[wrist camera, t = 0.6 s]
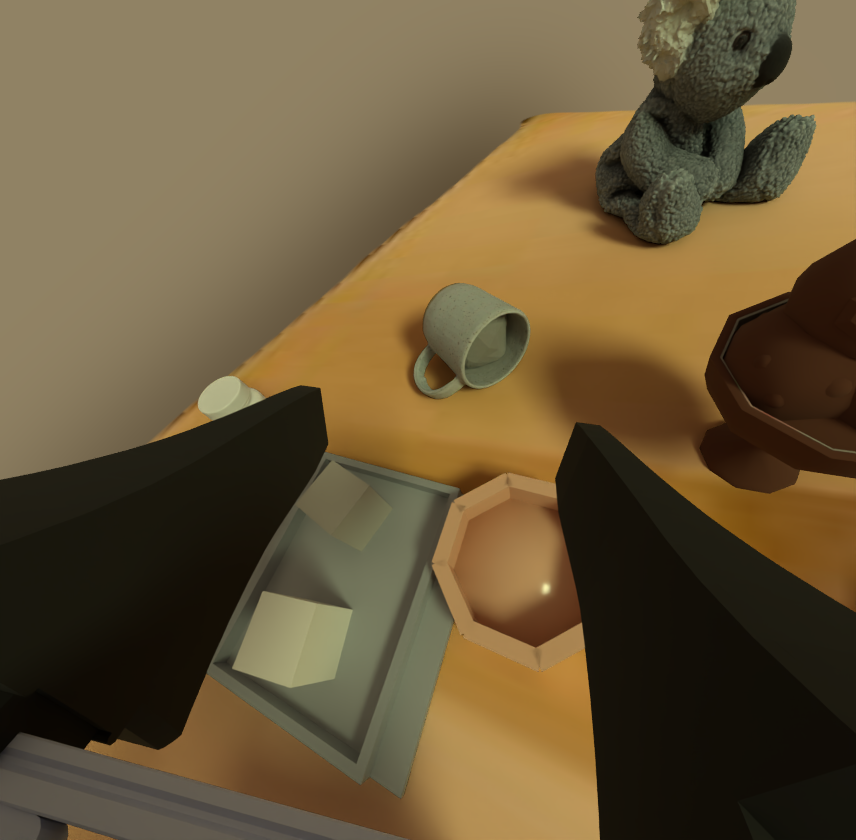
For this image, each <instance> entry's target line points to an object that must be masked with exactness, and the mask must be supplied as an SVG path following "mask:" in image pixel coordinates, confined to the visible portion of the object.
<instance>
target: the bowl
mask: <svg viewBox="0 0 856 840" xmlns="http://www.w3.org/2000/svg"><path fill="white" fill-rule="evenodd" d="M454 502H455V503H453V502H452V503H451V506H450V509H449V512H448V515H447V518H446V521H445V524H444V527H443V530H442V533H441V536H440V539H439V542H438V545H437V548H436V551H435V553H434V556H433V559H432V563H433V565H432V567H433V570H434V572H435V575H436V577H437V579H438V582H439V584H440V587H441V589H442V591H443V594H444V596H445V599H446V601H447V604H448V606H449V608H450V611H451V613H452V616H453V618H454V620H455V623H456V625H457V628H458V630H459V633H460V635H464V636H463V638H464V639H467V640H469V641H471V642H473V643H475V644H478V645H480V646H482V647H484V648H486V649H489V650H491V651H493V652H495V653H498V654H500V655H502V656H504V657H506V658H509V659H511V660H513V661H515V662H517V663H520V664H522V665H524V666H526V667H528V668H531V669H533V670H535V671H537V672H539V667H540V669H541V671H542V672H543V671H545V670H547V669H548V668H550V667H552V666H554V665H556V664H557V663H559V662H561V661H563V660H565V659H566V658H568V657H570V656H572V655H573V654H575V653H577V652H579V651H581V650H582V649H584V648H585V644H584V636H583V629H582V621H581V613H580V606H579V601H578V596H577V591H576V586H575V582H574V578H573V573H572V569H571V565H570V561H569V556H568V552H567V548H566V544H565V539H564V535H563V531H562V526H561V522H560V517H559V513H558V505H557V495H556V484H554V483H550V482H546V481H542V480H537V479H533V478H529V477H525V476H521V475H516V474H512V473H508V474H506V473H504V474H502V475H500V476H498V477H497V478H495V479H493V480H491V481H489V482H487V483H485V484H483V485H481V486H480V487H478V488H476V489H474V490H472V491H470V492H468V493H466V494H464V495H463V496H461V497H459V498H457V499H455V500H454Z"/></svg>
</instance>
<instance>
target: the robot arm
mask: <svg viewBox="0 0 856 840" xmlns="http://www.w3.org/2000/svg"><path fill="white" fill-rule="evenodd" d="M327 446H328V438H327V431H326V424H325V417H324V410H323V403H322V396H321V389H320V388H316V387H309V386H301V385H300V386H297V387H294V388H291V389H288V390H286V391H283V392H281V393H278V394H276V395H273V396H271V397H269V398H266V399H264V400H262V401H259V402H257V403H255V404H252V405H250V406H248V407H245V408H243V409H241V410H238V411H236V412H234V413H231V414H229V415H226V416H224V417H221V418H219V419H216V420H214V421H211V422H208V423H206V424H203V425H201V426H198V427H196V428H193V429H191V430H188V431H185V432H182V433H180V434H177V435H174V436H171V437H168V438H165V439H162V440H159V441H155V442H152V443H149V444H146V445H143V446H140V447H136V448H133V449H129V450H126V451H122V452H118V453H114V454H111V455H107V456H103V457H99V458H95V459H92V460H88V461H84V462H80V463H76V464H72V465H69V466H64V467H60V468H55V469H51V470H46V471H41V472H37V473H33V474H28V475H23V476H18V477H13V478H8V479H3V480H0V840H67V837H68V825H67V824H69V825H72V826H75V827H79V828H82V829H85V830H88V831H92V832H95V833H98V834H101V835H105V836H108V837H111V838H115V839H118V840H409V839H406V838H402V837H398V836H395V835H391V834H388V833H384V832H380V831H377V830H373V829H370V828H366V827H362V826H359V825H355V824H351V823H348V822H344V821H341V820H337V819H333V818H330V817H326V816H322V815H319V814H315V813H312V812H308V811H304V810H301V809H297V808H294V807H290V806H286V805H283V804H279V803H275V802H272V801H268V800H265V799H261V798H257V797H254V796H250V795H246V794H243V793H239V792H236V791H232V790H228V789H225V788H221V787H218V786H214V785H210V784H207V783H203V782H199V781H196V780H192V779H189V778H185V777H181V776H178V775H174V774H170V773H167V772H163V771H160V770H156V769H152V768H149V767H145V766H141V765H138V764H134V763H131V762H127V761H123V760H120V759H116V758H113V757H109V756H105V755H102V754H98V753H94V752H91V751H87V750H84V749H85V747H86V746H87V745H88V743H89V742H90V741H91V740H92V741H96V742H100V743H104V744H107V745H111V744H113V743H114V742H115V741H116V740H117V739H120V740H124V741H127V742H131V743H135V744H138V745H142V746H146V747H150V748H153V749H157V750H159V749H161V748H164V747H165V746H167V745H168V744H170V743H172V742H173V741H174V740H176V739H177V738H178V737H179V736H180V735H181V734H182V732H183V729H184V727H185V724H186V722H187V719H188V716H189V714H190V711H191V709H192V707H193V704H194V702H195V699H196V697H197V695H198V692H199V690H200V687H201V685H202V682H203V680H204V678H205V675H206V673H207V670H208V668H209V666H210V663H211V661H212V659H213V657H214V654H215V652H216V650H217V648H218V645H219V643H220V641H221V639H222V637H223V634H224V632H225V630H226V628H227V625H228V623H229V621H230V619H231V617H232V615H233V613H234V611H235V609H236V607H237V605H238V602H239V600H240V598H241V596H242V594H243V592H244V590H245V588H246V586H247V584H248V582H249V580H250V578H251V576H252V574H253V572H254V570H255V568H256V567H257V565H258V563H259V561H260V559H261V557H262V555H263V553H264V551H265V549H266V548H267V546H268V544H269V543H270V541H271V539H272V538H273V536H274V534H275V533H276V531H277V530H278V528H279V527H280V525H281V524H282V522H283V521H284V519H285V518H286V516H287V514H288V513H289V511H290V510H291V508H292V507H293V505H294V504H295V502H296V501H297V499H298V498H299V496H300V495H301V493H302V492H303V490H304V489H305V487H306V486H307V484H308V482H309V481H310V479H311V478H312V476H313V475H314V473H315V471H316V469H317V467H318V465H319V463H320V461H321V459H322V457H323V455H324V452H325V450H326V448H327ZM555 481H556V495H557V505H558V513H559V517H560V522H561V526H562V531H563V535H564V539H565V544H566V548H567V552H568V556H569V561H570V565H571V569H572V573H573V578H574V582H575V586H576V591H577V596H578V601H579V606H580V613H581V621H582V629H583V636H584V644H585V652H586V661H587V671H588V680H589V689H590V699H591V711H592V723H593V735H594V747H595V759H596V776H597V793H598V809H599V829H600V840H856V612H854V611H852V610H851V609H849V608H847V607H845V606H844V605H842V604H840V603H839V602H837V601H835V600H834V599H832V598H830V597H829V596H827V595H826V594H824V593H822V592H821V591H819V590H818V589H816V588H814V587H813V586H811V585H809V584H808V583H806V582H805V581H803V580H801V579H800V578H798V577H797V576H795V575H793V574H792V573H790V572H789V571H787V570H785V569H784V568H782V567H781V566H779V565H778V564H776V563H775V562H773V561H772V560H770V559H768V558H767V557H765V556H764V555H762V554H761V553H759V552H758V551H757V550H755V549H754V548H752V547H751V546H749V545H748V544H747V543H745V542H744V541H742V540H741V539H739V538H738V537H736V536H735V535H734V534H732V533H731V532H729V531H728V530H726V529H725V528H724V527H722V526H721V525H720V524H718V523H717V522H715V521H714V520H713V519H711V518H710V517H709V516H707V515H706V514H705V513H703V512H702V511H701V510H700V509H698V508H697V507H696V506H695V505H693V504H692V503H691V502H690V501H688V500H687V499H686V498H684V497H683V496H682V495H681V494H679V493H678V492H677V491H676V490H675V489H673V488H672V487H671V486H670V485H669V484H667V483H666V482H665V481H664V480H663V479H661V478H660V477H659V476H658V475H657V474H656V473H654V472H653V471H652V470H651V469H650V468H649V467H648V466H646V465H645V464H644V463H643V462H642V461H641V460H640V459H638V458H637V457H636V456H635V455H634V454H633V453H632V452H631V451H629V450H628V449H627V448H626V447H625V446H624V445H623V444H622V443H621V442H619V441H618V440H617V439H616V438H615V437H614V436H612V435H611V434H610V433H609V432H608V431H606V430H605V429H604V428H603V427H601V426H600V425H593V424H585V423H578V422H576V424H575V427H574V429H573V432H572V435H571V437H570V440H569V443H568V445H567V448H566V451H565V453H564V456H563V459H562V461H561V464H560V467H559V470H558V472H557V475H556V478H555Z"/></svg>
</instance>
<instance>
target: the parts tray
mask: <svg viewBox="0 0 856 840" xmlns="http://www.w3.org/2000/svg"><path fill="white" fill-rule="evenodd" d="M332 460H333V461H334V462H336V463H337V464H339V465H340V466H342V467H343V468H345V469H346V470H348V471H349V472H350V473H352V474H353V475H355V476H356V477H358V478H359V479H361V480H362V481H364V482H365V483H366V484H368V485H369V486H370V487H371V488H372V489H373V490H374V491H375V492H377V493H378V494H379V495H380V496H381V497H382V498H383V499H384V500H385V501H386V502H387V503H388V504H389V505H390V506H391V507H392V508H393V509H392V510H391V512H390V513H389V515H388V516H387V517H386V519H385V520H384V522H383V523H382V524H381V526H380V527H379V528H378V530H377V531H376V533H375V534H374V535H373V537H372V538H371V540H370V541H369V542H368V544H367V545H366V546H365V548H364V549H363V551H362V552H361V551H359V550H357V549H356V548H354V547H352V546H350V545H348V544H346V543H344V542H342V541H341V540H339V539H337V538H335V537H333V536H331V535H330V534H329V533H328V532H326V531H325V530H324V529H323V528H322V527H321V526H319V525H318V524H317V523H316V522H315V521H314V520H312V519H311V518H310V517H309V516H308V515H307V514H306V513H304V512H303V511H302V510H301V509H300V508H299V507H297V506H296V505H295V504H296V503H297V501H298V500H299V499H300V498H301V497H302V495H303V494H304V493H305V492H306V491H307V489H308V488H309V487H310V486H311V485H312V484H313V482H314V481H315V480H316V479H317V478H318V476H319V475H320V474H321V473H322V472H323V470H324V469H325V468H326V467H327V466H328V464H329V463H330V462H331V461H332ZM461 496H463V494H462V492H461V490H460V489H459V488H456V487H452V486H448V485H445V484H441V483H437V482H434V481H430V480H426V479H423V478H419V477H415V476H412V475H408V474H404V473H401V472H397V471H393V470H390V469H386V468H382V467H379V466H375V465H371V464H368V463H364V462H360V461H356V460H353V459H349V458H345V457H342V456H338V455H334V454H331V453H327V452H324V455H323V457H322V459H321V461H320V463H319V465H318V467H317V469H316V471H315V473H314V475H313V476H312V478H311V479H310V481H309V482H308V484H307V486H306V487H305V489H304V490H303V492H302V493H301V495H300V496H299V498H298V499H297V501H296V502H295V504H294V505H293V507H292V508H291V510H290V511H289V513H288V514H287V516H286V518H285V519H284V521H283V522H282V524H281V525H280V527H279V528H278V530H277V531H276V533H275V534H274V536H273V538H272V539H271V541H270V543H269V544H268V546H267V548H266V549H265V551H264V553H263V555H262V557H261V559H260V561H259V563H258V565H257V567H256V568H255V570H254V572H253V574H252V576H251V578H250V580H249V582H248V584H247V586H246V588H245V590H244V592H243V594H242V596H241V598H240V600H239V602H238V605H237V607H236V609H235V611H234V613H233V615H232V617H231V619H230V621H229V623H228V625H227V628H226V630H225V632H224V634H223V637H222V639H221V641H220V643H219V645H218V648H217V650H216V652H215V654H214V657H213V659H212V661H211V663H210V666H209V668H208V670H207V674H208V675H210V676H211V677H212V678H214V679H215V680H216V681H218V682H219V683H221V684H222V685H223V686H225V687H226V688H227V689H229V690H230V691H232V692H233V693H234V694H236V695H237V696H238V697H240V698H241V699H243V700H244V701H245V702H247V703H248V704H249V705H251V706H252V707H254V708H255V709H256V710H258V711H259V712H260V713H262V714H263V715H265V716H266V717H267V718H269V719H270V720H271V721H273V722H274V723H276V724H277V725H278V726H280V727H281V728H282V729H284V730H285V731H287V732H288V733H289V734H291V735H292V736H293V737H295V738H296V739H298V740H299V741H300V742H302V743H303V744H304V745H306V746H307V747H309V748H310V749H311V750H313V751H314V752H315V753H317V754H318V755H320V756H321V757H322V758H324V759H325V760H326V761H328V762H329V763H331V764H332V765H333V766H335V767H336V768H337V769H339V770H340V771H342V772H343V773H344V774H346V775H347V776H348V777H350V778H351V779H353V780H354V781H355V782H357V783H358V784H359V785H361V784H363V783H364V782H365V781H366V780H367V779H368V778H369V777H370V778H372V779H373V780H375V781H376V782H378V783H379V784H380V785H382V786H383V787H385V788H386V789H387V790H389V791H390V792H392V793H393V794H395V795H396V796H397V797H399V798H400V799H401V798H402V797H403V796H404V793H405V789H406V786H407V782H408V779H409V775H410V772H411V768H412V765H413V761H414V758H415V754H416V751H417V747H418V744H419V740H420V737H421V734H422V730H423V727H424V723H425V720H426V716H427V713H428V709H429V706H430V702H431V699H432V695H433V692H434V688H435V685H436V682H437V678H438V675H439V671H440V668H441V664H442V661H443V657H444V654H445V650H446V647H447V643H448V640H449V636H450V633H451V630H452V626H453V623H454V618H453V616H452V613H451V611H450V608H449V606H448V604H447V601H446V599H445V596H444V594H443V591H442V589H441V587H440V584H439V582H438V579H437V577H436V575H435V572H434V570H433V567H432V565H433V563H432V559H433V556H434V553H435V551H436V548H437V545H438V542H439V539H440V536H441V533H442V530H443V527H444V524H445V521H446V518H447V515H448V512H449V509H450V506H451V503H452V502H453V503H455V502H454V500H455V499H457V498H459V497H461ZM263 591H266V592H271V593H277V594H282V595H287V596H293V597H298V598H304V599H308V600H313V601H317V602H321V603H326V604H330V605H334V606H339V607H343V608H347V609H352V610H353V611H352V615H351V618H350V622H349V626H348V630H347V633H346V637H345V641H344V645H343V648H342V652H341V656H340V660H339V663H338V667H337V671H336V675H335V679H332V680H327V681H322V682H317V683H312V684H307V685H302V686H298V687H293V688H289V687H286V686H283V685H280V684H277V683H274V682H271V681H268V680H265V679H262V678H259V677H256V676H253V675H250V674H247V673H244V672H241V671H238V670H235V669H232V667H233V665H234V662H235V660H236V657H237V655H238V652H239V650H240V647H241V645H242V642H243V640H244V637H245V634H246V632H247V629H248V627H249V624H250V622H251V619H252V617H253V614H254V612H255V609H256V607H257V604H258V602H259V599H260V597H261V594H262V592H263Z"/></svg>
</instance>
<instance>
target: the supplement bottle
mask: <svg viewBox="0 0 856 840" xmlns="http://www.w3.org/2000/svg"><path fill="white" fill-rule="evenodd" d="M264 399H266V397H265V396H264V395H263V394H261V393H260V392H259V391H258V390H256V389H253V388H249V387H248V386H247V385H246V384H244V383H243V382H242V381H241V380H240V379H238V378H237V377H234V376H226V377H223V378H220V379H218V380H216V381H215V382H213V383H211V384H210V385H209V386H208V387H207V388H206V389H205V390H204V391H203V393H202V394H201V396H200V398H199V401H198V408H199V410H200V411H201V412H202V413H203V414H205V415H206V416H207V417H208V418H210V419H211V420H213V421H214V420H216V419H219V418H221V417H224V416H226V415H229V414H231V413H234V412H236V411H238V410H241V409H243V408H245V407H248V406H250V405H252V404H255V403H257V402H259V401H262V400H264Z"/></svg>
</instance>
